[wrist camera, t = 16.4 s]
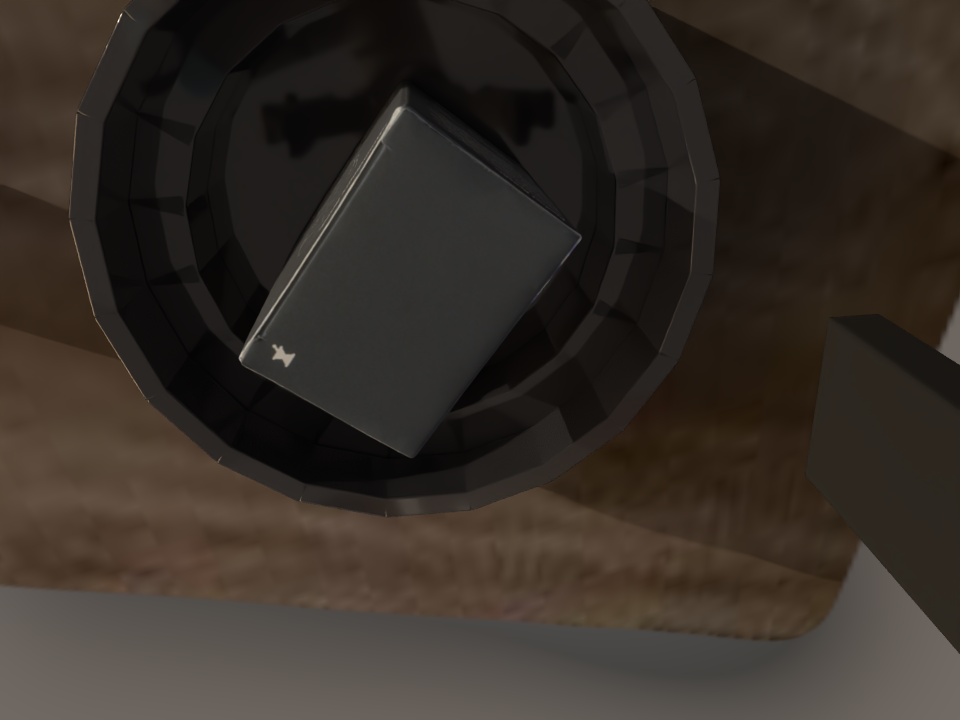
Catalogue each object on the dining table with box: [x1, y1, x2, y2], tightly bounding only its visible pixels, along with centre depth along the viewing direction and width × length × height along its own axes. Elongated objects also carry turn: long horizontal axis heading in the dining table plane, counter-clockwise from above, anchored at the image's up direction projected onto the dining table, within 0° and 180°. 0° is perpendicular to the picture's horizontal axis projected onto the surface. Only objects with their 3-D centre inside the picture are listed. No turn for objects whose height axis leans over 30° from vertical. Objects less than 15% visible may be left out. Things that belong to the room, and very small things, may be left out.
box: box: [239, 81, 582, 458], centre depth 24 cm, size 8×6×11 cm
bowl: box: [68, 0, 720, 517], centre depth 27 cm, size 20×20×6 cm
